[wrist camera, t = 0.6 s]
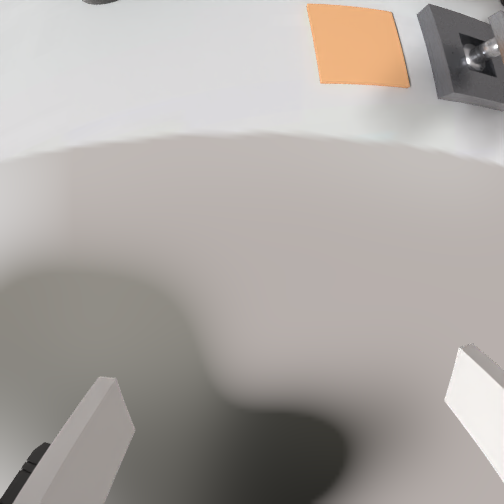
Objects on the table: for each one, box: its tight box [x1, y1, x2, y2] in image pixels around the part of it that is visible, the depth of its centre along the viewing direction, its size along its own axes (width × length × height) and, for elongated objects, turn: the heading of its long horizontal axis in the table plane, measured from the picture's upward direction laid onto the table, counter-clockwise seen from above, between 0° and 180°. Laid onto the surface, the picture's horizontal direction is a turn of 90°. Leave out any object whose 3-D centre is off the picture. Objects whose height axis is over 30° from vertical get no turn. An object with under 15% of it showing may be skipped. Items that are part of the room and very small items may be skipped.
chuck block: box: [417, 4, 504, 111], centre depth 29 cm, size 14×14×4 cm
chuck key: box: [463, 11, 504, 72], centre depth 24 cm, size 7×4×13 cm, turn 5°
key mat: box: [307, 4, 410, 88], centre depth 31 cm, size 12×12×1 cm
